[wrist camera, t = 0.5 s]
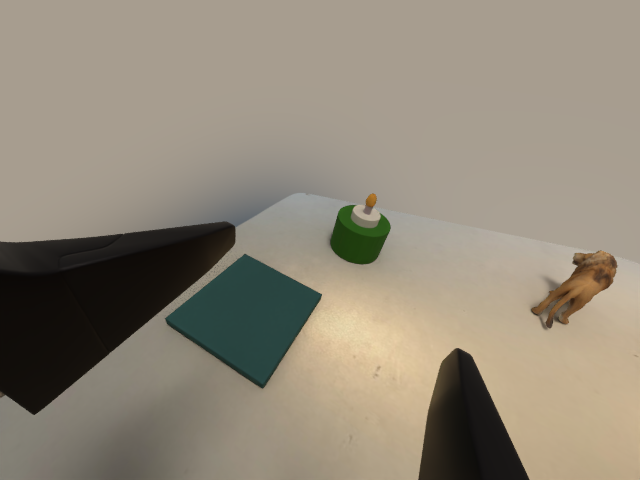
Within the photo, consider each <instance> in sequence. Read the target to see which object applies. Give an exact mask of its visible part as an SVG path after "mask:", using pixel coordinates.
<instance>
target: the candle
mask: <svg viewBox="0 0 640 480" xmlns="http://www.w3.org/2000/svg"><path fill="white" fill-rule="evenodd" d="M376 199H377V198H376V195H375V194H371V195H369V196H368V198H367V199H366V205H349V206H345V207H343V208H341V209H340V210H339V212H338V216H337V220H336V223H335V227H334V230H333V234H332V237H331V241H330V243H331V247H332V249H333V251H334V252H335V253H336V254H337V255H338V256H339V257H341V258H343V259H344V260H346V261H349V262H352V263H356V264H368V263H371V262H373V261H375V260H376V259H377V257H378V255H379V253H380V251H381V249H382V247H383V244H384V242H385V240H386V238H387V236H388V233H389V231H390V228H391V227H390V223H389V221H388V220H387V219H386V218H385V217H384V216H383V215H382V214H381V213H379V212H378V211H377V210H376V209H374V208H373V206H374V205H375V203H376Z"/></svg>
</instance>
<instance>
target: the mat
mask: <svg viewBox="0 0 640 480" xmlns="http://www.w3.org/2000/svg"><path fill="white" fill-rule="evenodd" d="M321 296H322V294H320V293H318V292H316V291H314V290H312V289H311V288H309V287H307V286H305V285H303V284H301V283H299V282H297V281H295V280H293V279H292V278H290V277H288V276H286V275H284V274H282V273H280V272H278V271H276V270H274V269H273V268H271V267H269V266H267V265H265V264H263V263H261V262H259V261H257V260H256V259H254V258H252V257H250V256H248V255H246V254H244V255H243V256H242V257H241V258H239V259H238V260H237V261H236V262H234V263H233V264H232V265H231V266H229V267H228V268H227V269H226V270H225V271H223V272H222V273H221V274H220V275H218V276H217V277H216V278H215V279H213V280H212V281H211V282H210V283H208V284H207V285H206V286H205V287H203V288H202V289H201V290H200V291H199V292H197V293H196V294H195V295H194V296H192V297H191V298H190V299H189V300H187V301H186V302H185V303H184V304H182V305H181V306H180V307H179V308H177V309H176V310H175V311H174V312H173V313H171V314H170V315H169V316H168V317H166V318H165V319H166V322H167V324H168V325H170V326H171V327H173V328H174V329H176V330H177V331H178V332H180V333H181V334H183V335H184V336H186V337H187V338H189V339H190V340H192V341H193V342H195V343H196V344H198V345H199V346H201V347H202V348H204V349H205V350H206V351H208V352H209V353H211V354H212V355H214V356H215V357H217V358H218V359H220V360H221V361H223V362H224V363H226V364H227V365H229V366H230V367H231V368H233V369H234V370H236V371H237V372H239V373H240V374H242V375H243V376H245V377H246V378H248V379H249V380H251V381H252V382H254V383H255V384H257V385H258V386H259V387H261V388H264V386H265V385H266V383H267V382H268V380H269V379H270V377H271V375H272V374H273V372H274V371H275V369H276V368H277V366H278V365H279V363H280V361H281V360H282V358H283V357H284V355H285V354H286V352H287V351H288V349H289V347H290V346H291V344H292V343H293V341H294V340H295V338H296V337H297V335H298V333H299V332H300V330H301V329H302V327H303V326H304V324H305V323H306V321H307V319H308V318H309V316H310V315H311V313H312V312H313V310H314V309H315V307H316V305H317V304H318V302H319V301H320V299H321Z"/></svg>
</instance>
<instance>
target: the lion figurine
mask: <svg viewBox="0 0 640 480" xmlns="http://www.w3.org/2000/svg"><path fill="white" fill-rule="evenodd" d="M573 260H574V261H573V262H572V263H573V264H574V265H577V266H578V267H576V269H575V271H574V272H573V274H572V275H571V277H570V278H569V279H568V280H566V281H565V282H564V283H562V285H561V286H560V287H559V288H557V289H556V290H555V291H549V292H550V295H549V296H548V297H547V298H546V299H545V300H544V301H543V302H541V303H540V305H539V306H538V307H534V308H532V311H533V312H534V313H536V314H538V315H540V314H541V313H542V311H543V310H544V309H546V308H547V307H548V306H549V304H550V303H551V302H553V301H555V300H557V299H561V298H562V299H561V300H560V301H559V302H558V303H557V304H556V305H555V306H554V307H553V308H552V309H551V311H550V313H549V316H548V319H547V321H546V326H547V327H548V328H551V327H552V324H553V316H554V314H555V312H556V311H557V310H558V309H559V308H560V307H561V306H562V305H563V304H564V303H566V302H567V301H568V300H570V301H569V302H568V304H569V306H568V308H567V310H566V311H564V312H562V313H561V315H560V317H558V319H559V320H560V321H561V322H562V323H564V324H568V323H569V321H568V319H567V318H568V317H569V316H570V315H571V314H573V313H574V312H576V311H578V310H580V309H581V308H582V307H583V306H585V304H586V303H588V302H589V301H590V300H591V299H592V298H593V296H594V295H596V294H598V293H599V292H600V291H602V290H605V289H607V288H608V287H609V286H610V285H611V284H612V283H613V277H614V276H615V274H616V268H617V262H616V260H615V258H614V256H612V255H611V254H609V253H606V252H604V251H598V252H597V253H594V254H592V253H589V254H582V253H575V254H574V257H573Z"/></svg>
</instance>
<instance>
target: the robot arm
mask: <svg viewBox="0 0 640 480" xmlns="http://www.w3.org/2000/svg"><path fill="white" fill-rule="evenodd" d="M234 244H235V226H234V225H232V224H230V223H228V222H217V223H209V224H201V225H192V226H183V227H175V228H167V229H159V230H150V231H142V232H133V233H125V234H117V235H108V236H98V237H88V238H77V239H62V240H49V241H34V242H17V243H15V242H0V398H1V397H3V396H5V395H7V396H8V397H9V398H11V399H12V400H13V401H15V402H16V403H18V404H19V405H20V406H22V407H23V408H25V409H26V410H27V411H29V412H30V413H32V414H33V415H35V414H36V413H38V412H39V411H41V410H42V409H43V408H45V407H46V406H47V405H48V404H49V403H51V402H52V401H53V400H54V399H55V398H57V397H58V396H59V395H60V394H61V393H63V392H64V391H65V390H66V389H67V388H69V387H70V386H71V385H72V384H73V383H75V382H76V381H77V380H78V379H79V378H81V377H82V376H83V375H84V374H86V373H87V372H88V371H89V370H90V369H92V368H93V367H94V366H95V365H96V364H98V363H99V362H100V361H101V360H102V359H104V358H105V357H106V356H107V355H108V354H109V353H110V352H112V351H113V350H114V349H115V348H117V347H118V346H119V345H120V344H121V343H123V342H124V341H125V340H126V339H127V338H129V337H130V336H131V335H132V334H134V333H135V332H136V331H137V330H138V329H140V328H141V327H142V326H143V325H144V324H146V323H147V322H148V321H149V320H150V319H152V318H153V317H154V316H155V315H156V314H158V313H159V312H160V311H161V310H162V309H164V308H165V307H166V306H167V305H168V304H170V303H171V302H172V301H173V300H175V299H176V298H177V297H178V296H179V295H181V294H182V293H183V292H184V291H185V290H187V289H188V288H189V287H190V286H191V285H193V284H194V283H195V282H196V281H197V280H199V279H200V278H201V277H202V276H203V275H205V274H206V273H207V272H208V271H209V270H210V269H211V268H212V267H213V266H214V265H215V264H216V263H217V262H218V261H219V260H220V259H221V258H222V257H223V256H224V255H225V254H226V253H227V252H228V251H229V250H230V249H231V248H232V247H233V246H234ZM418 480H529V478H528V475H527V473H526V471H525V469H524V467H523V465H522V463H521V460H520V458H519V456H518V454H517V452H516V450H515V448H514V445H513V443H512V441H511V439H510V437H509V435H508V432H507V430H506V428H505V426H504V424H503V422H502V420H501V417H500V415H499V413H498V411H497V409H496V407H495V405H494V402H493V400H492V398H491V396H490V394H489V392H488V390H487V387H486V385H485V383H484V381H483V379H482V377H481V375H480V372H479V370H478V368H477V366H476V364H475V362H474V359H473V357H472V356H471V355H470V354H469V353H467V352H465V351H463V350H461V349H459V348H456V349H454V350H453V351H452V352H451V353H450V354H449V355H448V356H447V357H446V358H445V359H444V360H443V361H442V363H441V366H440V369H439V373H438V376H437V380H436V384H435V388H434V391H433V395H432V399H431V402H430V406H429V410H428V416H427V422H426V429H425V436H424V443H423V450H422V458H421V465H420V472H419V479H418Z"/></svg>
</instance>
